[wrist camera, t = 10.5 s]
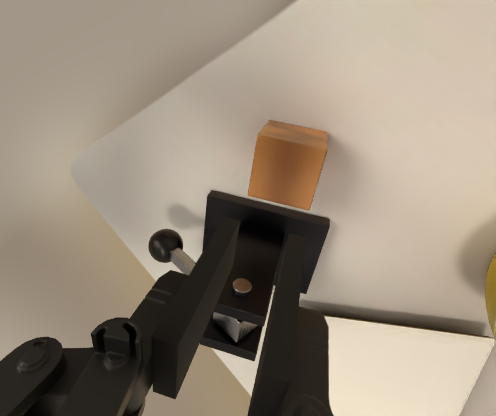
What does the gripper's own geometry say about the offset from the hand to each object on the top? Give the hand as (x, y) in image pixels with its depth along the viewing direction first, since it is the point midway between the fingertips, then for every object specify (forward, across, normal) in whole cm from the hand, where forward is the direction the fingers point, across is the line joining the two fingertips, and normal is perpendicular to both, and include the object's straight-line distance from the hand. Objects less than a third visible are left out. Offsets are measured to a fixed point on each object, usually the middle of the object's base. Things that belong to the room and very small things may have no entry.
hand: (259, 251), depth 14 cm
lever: (+9, -5, -10) cm, 14 cm away
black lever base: (+14, -1, -10) cm, 18 cm away
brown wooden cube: (+14, 0, 0) cm, 14 cm away
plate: (+15, +16, -24) cm, 32 cm away
